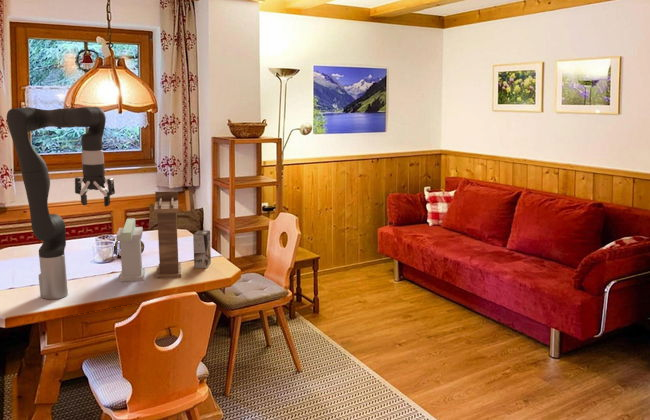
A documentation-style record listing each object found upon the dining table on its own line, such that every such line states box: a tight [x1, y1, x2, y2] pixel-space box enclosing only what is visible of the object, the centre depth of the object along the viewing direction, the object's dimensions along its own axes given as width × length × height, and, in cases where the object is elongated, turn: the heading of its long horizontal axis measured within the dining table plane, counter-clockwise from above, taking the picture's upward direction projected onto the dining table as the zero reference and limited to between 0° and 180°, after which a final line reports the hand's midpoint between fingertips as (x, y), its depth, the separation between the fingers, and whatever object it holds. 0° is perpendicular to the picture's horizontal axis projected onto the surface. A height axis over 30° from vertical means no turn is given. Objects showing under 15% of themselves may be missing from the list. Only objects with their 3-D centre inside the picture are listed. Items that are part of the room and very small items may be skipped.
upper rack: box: [153, 190, 182, 280], centre depth 261 cm, size 20×10×36 cm, turn 14°
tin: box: [113, 240, 145, 256], centre depth 289 cm, size 15×3×8 cm, turn 101°
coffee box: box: [192, 230, 212, 269], centre depth 274 cm, size 9×6×16 cm
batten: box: [122, 217, 137, 241], centre depth 250 cm, size 26×4×4 cm, turn 14°
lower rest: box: [115, 226, 146, 283], centre depth 256 cm, size 14×10×21 cm
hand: (95, 205), depth 215 cm, fingers open, 8 cm apart
